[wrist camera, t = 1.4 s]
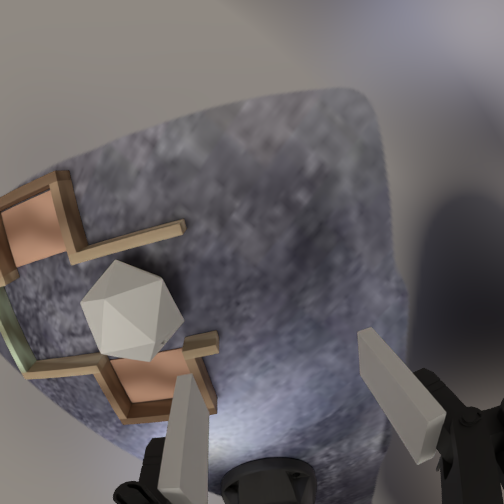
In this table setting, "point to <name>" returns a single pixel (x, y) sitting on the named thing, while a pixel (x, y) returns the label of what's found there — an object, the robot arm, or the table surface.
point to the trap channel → (75, 243)
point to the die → (131, 312)
